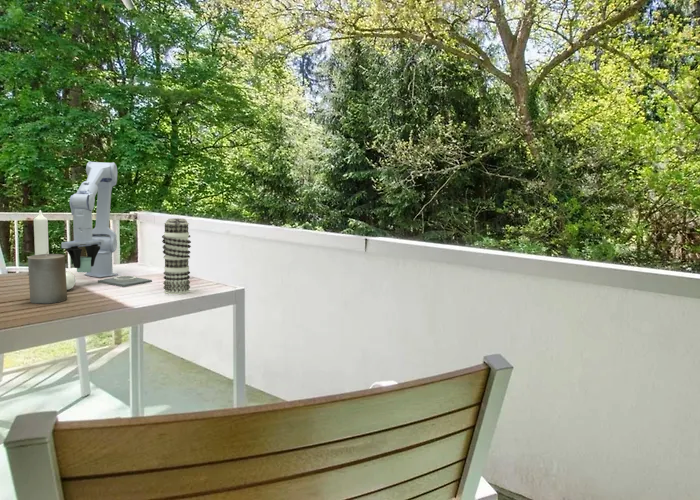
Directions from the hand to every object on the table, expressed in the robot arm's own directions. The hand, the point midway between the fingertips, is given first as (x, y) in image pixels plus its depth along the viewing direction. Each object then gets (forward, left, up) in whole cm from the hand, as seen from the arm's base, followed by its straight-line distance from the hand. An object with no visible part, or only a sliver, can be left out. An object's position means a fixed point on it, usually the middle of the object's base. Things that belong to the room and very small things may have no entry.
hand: (84, 266), depth 174 cm
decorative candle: (+33, +11, -7) cm, 35 cm away
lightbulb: (+8, -15, -5) cm, 17 cm away
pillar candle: (+13, -21, -7) cm, 25 cm away
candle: (-29, +3, -7) cm, 30 cm away
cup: (0, 0, -2) cm, 2 cm away
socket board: (+6, +12, -7) cm, 15 cm away
